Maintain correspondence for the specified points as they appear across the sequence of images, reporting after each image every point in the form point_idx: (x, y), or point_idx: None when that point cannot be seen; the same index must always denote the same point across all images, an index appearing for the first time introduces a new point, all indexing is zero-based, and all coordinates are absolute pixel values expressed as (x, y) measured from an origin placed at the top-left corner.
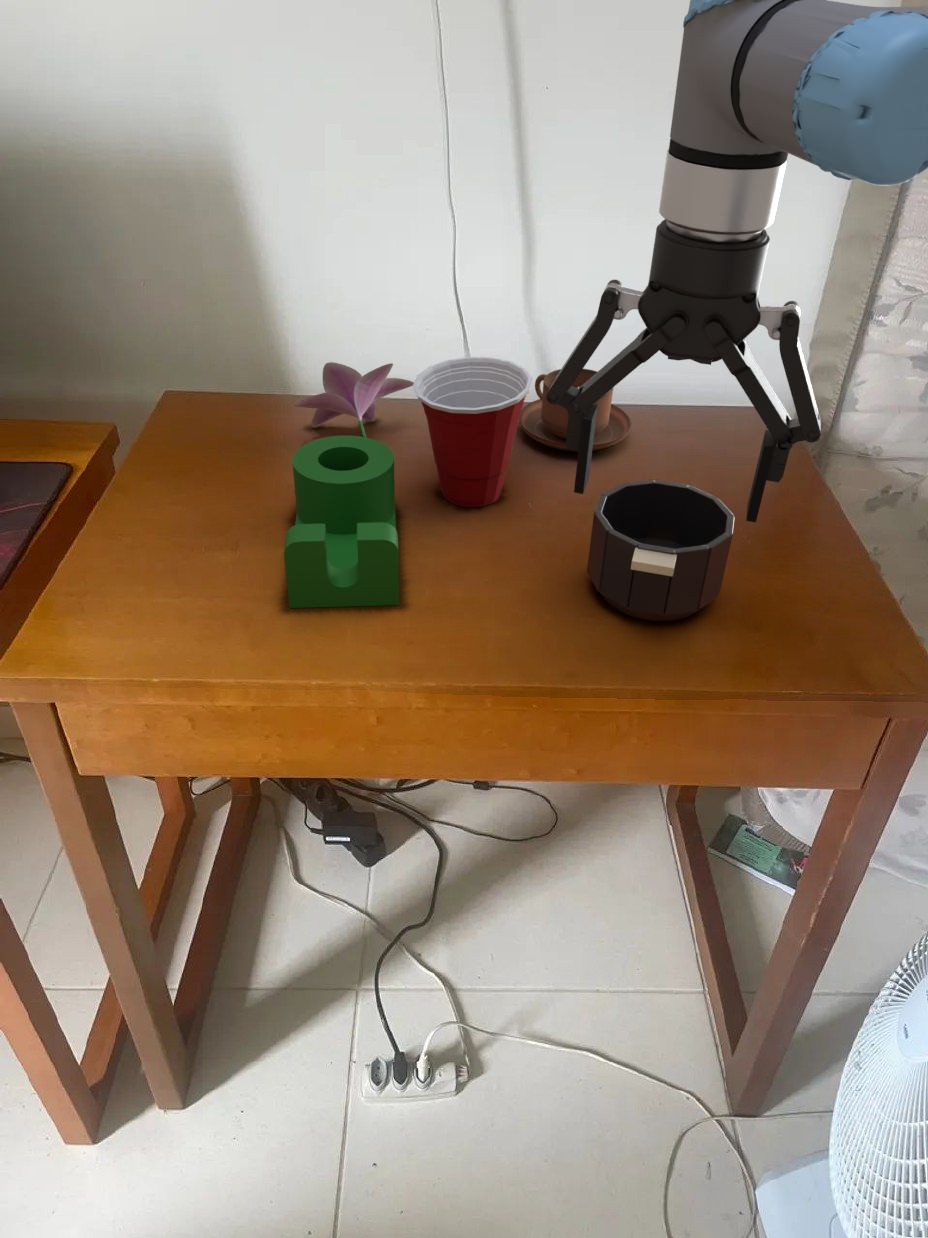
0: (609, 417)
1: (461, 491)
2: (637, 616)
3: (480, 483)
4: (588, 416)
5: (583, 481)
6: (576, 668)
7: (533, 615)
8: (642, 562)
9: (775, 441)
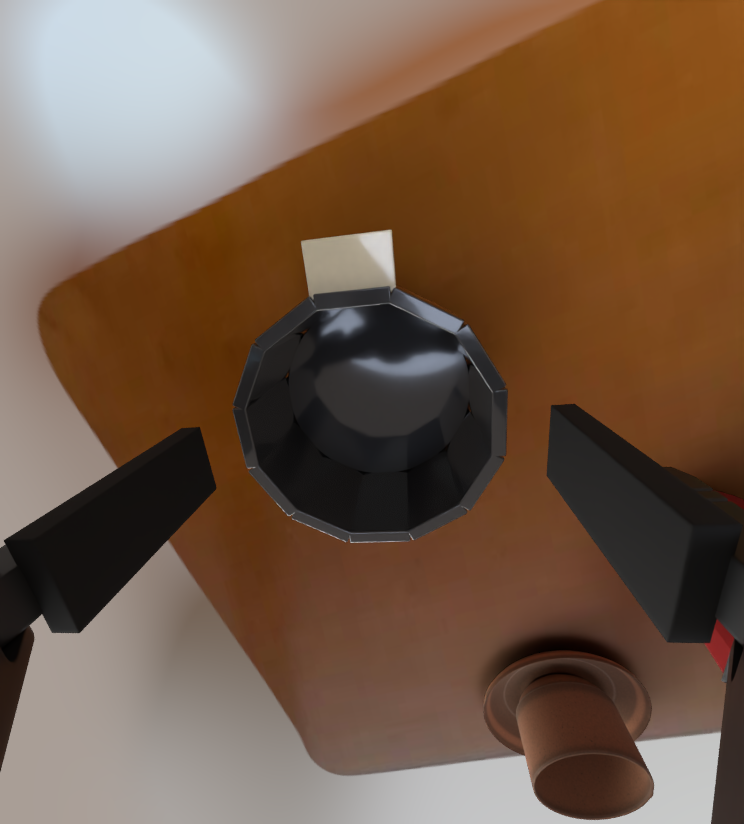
0: (514, 728)
1: (728, 500)
2: None
3: None
4: (709, 549)
5: (567, 417)
6: (444, 129)
7: (539, 246)
8: (368, 234)
9: (10, 570)
